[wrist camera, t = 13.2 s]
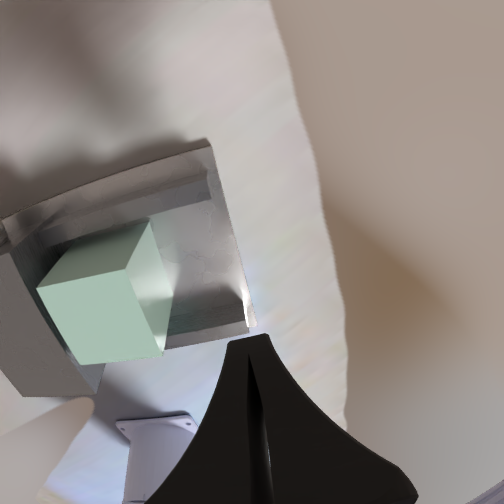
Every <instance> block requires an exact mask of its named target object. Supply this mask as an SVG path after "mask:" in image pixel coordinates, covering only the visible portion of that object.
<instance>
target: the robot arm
mask: <svg viewBox="0 0 504 504" xmlns="http://www.w3.org/2000/svg"><path fill="white" fill-rule="evenodd" d="M116 427H117V428H118V429H119V430H120V431H121V432H122V433H123V434H124V435H125V436H126V438H127V439H128V440H129V441H130V442H131V443H130V450H129V457H128V464H127V472H126V480H125V489H124V498H123V501H122V504H415V502H416V501H417V498H418V494H417V491H416V489H415V487H414V486H413V484H412V483H411V481H410V480H409V478H408V477H407V476H406V475H405V474H404V472H403V471H402V470H401V469H400V468H399V467H398V466H396V465H395V464H393V463H391V462H389V461H387V460H386V459H384V458H382V457H381V456H379V455H377V454H376V453H374V452H373V451H371V450H370V449H368V448H367V447H365V446H364V445H362V444H361V443H360V442H358V441H357V440H356V439H354V438H353V437H352V436H351V435H349V434H348V433H347V432H346V431H344V430H343V429H342V428H340V427H339V426H338V425H337V424H336V423H335V422H333V421H332V420H331V419H330V418H329V417H328V416H327V415H326V414H325V413H324V412H323V411H322V410H321V409H320V408H319V407H318V406H317V405H316V404H315V403H314V402H313V401H312V400H311V399H310V398H309V397H308V396H307V394H306V393H305V392H304V391H303V390H302V388H301V387H300V386H299V385H298V384H297V382H296V381H295V380H294V378H293V377H292V376H291V374H290V373H289V371H288V370H287V369H286V367H285V366H284V364H283V363H282V361H281V360H280V358H279V356H278V354H277V353H276V351H275V349H274V347H273V345H272V342H271V340H270V337H269V335H268V334H266V333H264V334H260V335H255V336H251V337H247V338H242V339H237V340H233V341H230V342H229V343H228V344H227V350H226V354H225V359H224V363H223V366H222V370H221V373H220V376H219V379H218V382H217V385H216V388H215V391H214V394H213V396H212V399H211V401H210V404H209V406H208V408H207V411H206V413H205V415H204V418H203V420H202V422H201V424H200V426H199V428H198V426H197V425H196V423H195V422H194V420H193V419H192V417H191V416H189V415H182V416H174V417H165V418H154V419H143V420H128V421H117V422H116ZM268 449H269V453H268ZM269 457H270V461H269ZM270 466H271V467H270ZM466 504H504V480H502V481H501V482H499V483H498V484H496V485H495V486H494V487H492V488H491V489H489V490H488V491H486V492H484V493H483V494H481V495H480V496H478V497H477V498H475V499H473V500H472V501H470V502H468V503H466Z"/></svg>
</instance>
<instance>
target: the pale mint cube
mask: <svg viewBox="0 0 504 504" xmlns="http://www.w3.org/2000/svg"><path fill="white" fill-rule="evenodd" d="M36 289H37V291H38V293H39V295H40V297H41V299H42V301H43V303H44V305H45V307H46V308H47V310H48V312H49V314H50V316H51V318H52V319H53V321H54V323H55V325H56V326H57V328H58V330H59V332H60V333H61V335H62V337H63V338H64V340H65V342H66V343H67V345H68V347H69V348H70V350H71V351H72V353H73V355H74V356H75V358H76V359H77V361H78V362H79V364H80V365H88V364H99V363H110V362H120V361H129V360H137V359H145V358H153V357H161V356H163V354H164V347H165V341H166V335H167V329H168V323H169V317H170V312H171V306H172V301H173V292H172V289H171V286H170V284H169V281H168V278H167V275H166V272H165V269H164V266H163V263H162V260H161V257H160V254H159V251H158V248H157V245H156V242H155V239H154V235H153V232H152V229H151V226H150V222H146V223H142V224H138V225H133V226H129V227H125V228H121V229H117V230H113V231H110V232H106V233H102V234H98V235H94V236H90V237H87V238H83V239H79V240H76V241H75V242H74V243H73V244H72V245H71V246H70V248H69V249H68V250H67V251H66V252H65V253H64V255H63V256H62V257H61V258H60V259H59V261H58V262H57V263H56V264H55V265H54V267H53V268H52V269H51V270H50V271H49V273H48V274H47V275H46V276H45V278H44V279H43V280H42V281H41V283H40V284H39V285H38V287H37V288H36Z"/></svg>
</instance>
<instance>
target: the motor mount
mask: <svg viewBox="0 0 504 504" xmlns="http://www.w3.org/2000/svg"><path fill="white" fill-rule="evenodd" d="M146 222H150V226H151V229H152V232H153V235H154V239H155V242H156V245H157V248H158V251H159V254H160V257H161V260H162V263H163V266H164V269H165V272H166V275H167V278H168V281H169V284H170V286H171V289H172V292H173V301H172V306H171V312H170V317H169V323H168V329H167V335H166V341H165V347H164V350H166V349H172V348H178V347H183V346H188V345H194V344H199V343H204V342H209V341H214V340H219V339H223V338H228V337H233V336H237V335H242V334H246V333H249V328H250V327H254V326H258V324H257V320H256V316H255V312H254V308H253V305H252V301H251V297H250V293H249V290H248V286H247V282H246V278H245V274H244V271H243V267H242V263H241V259H240V255H239V251H238V248H237V244H236V240H235V236H234V232H233V228H232V224H231V221H230V217H229V213H228V209H227V205H226V201H225V197H224V193H223V189H222V185H221V181H220V177H219V173H218V169H217V165H216V161H215V157H214V153H213V149H212V145H210V146H206V147H203V148H199V149H195V150H191V151H187V152H184V153H180V154H177V155H173V156H170V157H166V158H163V159H159V160H156V161H153V162H150V163H146V164H143V165H140V166H137V167H134V168H131V169H128V170H125V171H122V172H119V173H116V174H113V175H110V176H107V177H104V178H101V179H98V180H96V181H93V182H90V183H87V184H85V185H82V186H79V187H77V188H74V189H72V190H69V191H67V192H64V193H61V194H59V195H57V196H54V197H52V198H49V199H47V200H44V201H42V202H40V203H37V204H35V205H33V206H30V207H28V208H26V209H24V210H21V211H19V212H17V213H15V214H13V215H10V216H8V217H6V218H4V219H1V217H0V369H1V371H2V372H3V373H4V374H5V376H6V377H7V378H8V379H9V381H10V382H11V383H12V384H13V386H14V387H15V388H16V389H17V390H18V392H19V393H20V394H21V395H22V396H23V397H58V396H81V395H96V394H97V390H98V387H99V384H100V380H101V377H102V374H103V371H104V368H105V364H106V363H99V364H88V365H80V364H79V362H78V361H77V359H76V358H75V356H74V355H73V353H72V351H71V350H70V348H69V347H68V345H67V343H66V342H65V340H64V338H63V337H62V335H61V333H60V332H59V330H58V328H57V326H56V325H55V323H54V321H53V319H52V318H51V316H50V314H49V312H48V310H47V308H46V307H45V305H44V303H43V301H42V299H41V297H40V295H39V293H38V291H37V289H36V288H37V287H38V285H39V284H40V283H41V281H42V280H43V279H44V278H45V276H46V275H47V274H48V273H49V271H50V270H51V269H52V268H53V267H54V265H55V264H56V263H57V262H58V261H59V259H60V258H61V257H62V256H63V255H64V253H65V252H66V251H67V250H68V249H69V248H70V246H71V245H72V244H73V243H74V242H75V241H76V240H79V239H83V238H87V237H90V236H94V235H98V234H102V233H106V232H110V231H113V230H117V229H121V228H125V227H129V226H133V225H138V224H142V223H146Z"/></svg>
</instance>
